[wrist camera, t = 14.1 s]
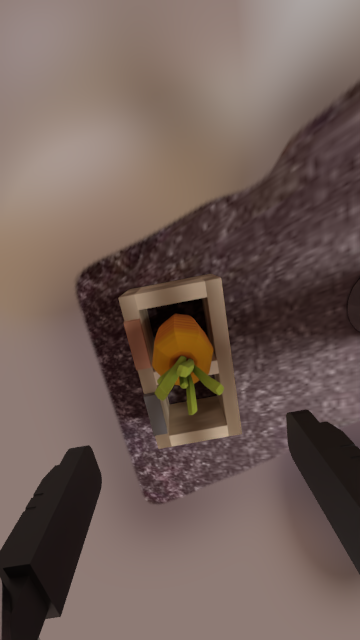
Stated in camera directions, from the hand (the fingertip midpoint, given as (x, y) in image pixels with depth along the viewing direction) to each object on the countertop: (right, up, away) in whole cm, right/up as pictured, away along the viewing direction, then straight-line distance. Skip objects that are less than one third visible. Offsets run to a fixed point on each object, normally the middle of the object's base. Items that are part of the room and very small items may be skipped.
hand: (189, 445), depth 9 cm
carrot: (-1, +5, +18) cm, 19 cm away
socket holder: (0, +1, +19) cm, 19 cm away
